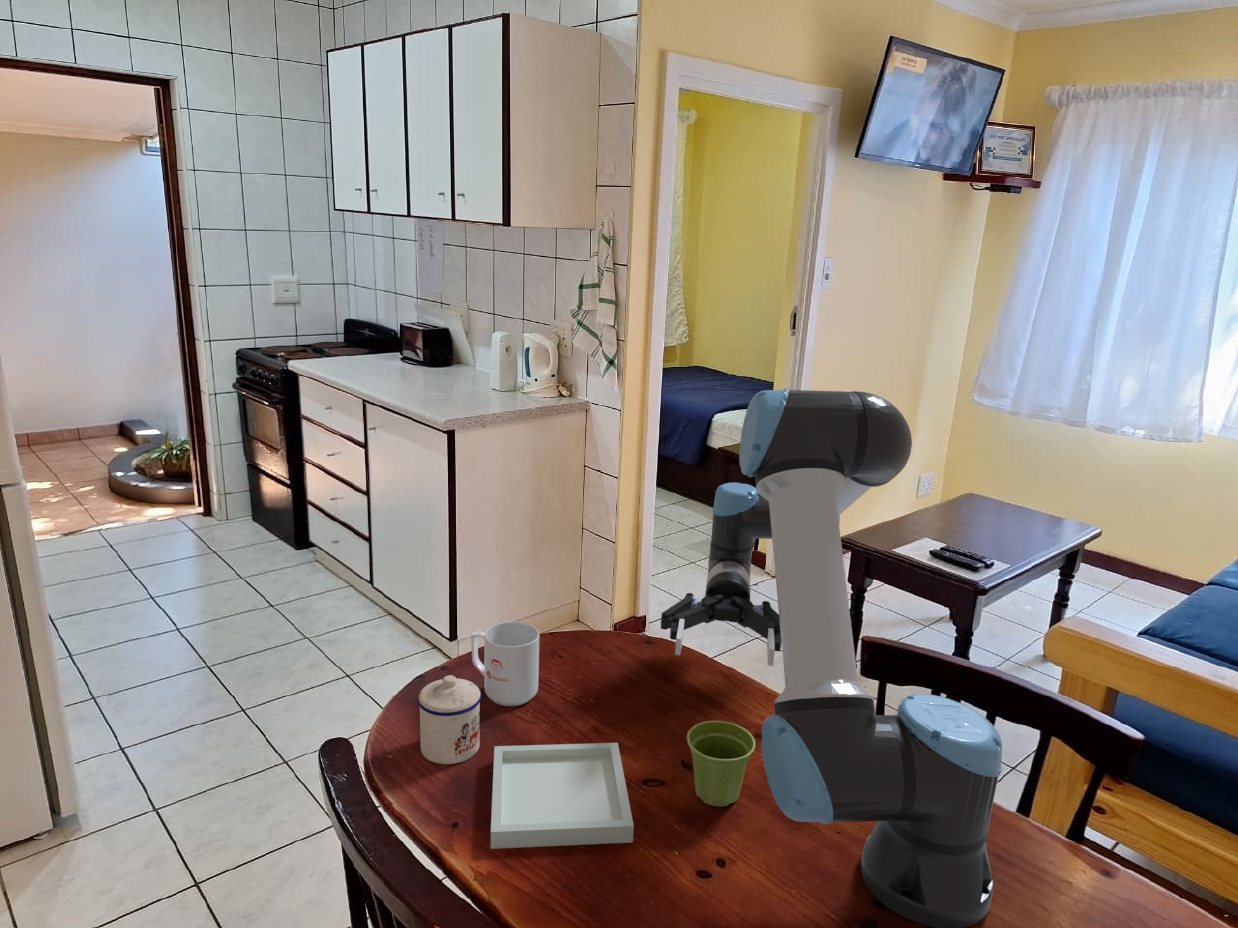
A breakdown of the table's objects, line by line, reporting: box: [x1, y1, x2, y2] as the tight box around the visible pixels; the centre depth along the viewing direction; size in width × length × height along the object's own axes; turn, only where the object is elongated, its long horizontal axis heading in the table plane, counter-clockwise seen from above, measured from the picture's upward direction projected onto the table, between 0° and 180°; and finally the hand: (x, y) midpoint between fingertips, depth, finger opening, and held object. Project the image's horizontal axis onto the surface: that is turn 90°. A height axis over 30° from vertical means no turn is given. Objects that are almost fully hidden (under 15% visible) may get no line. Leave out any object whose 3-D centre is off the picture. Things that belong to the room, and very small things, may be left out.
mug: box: [470, 621, 540, 707], centre depth 140 cm, size 12×9×11 cm
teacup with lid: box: [417, 674, 482, 765], centre depth 126 cm, size 12×9×12 cm
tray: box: [490, 742, 635, 850], centre depth 116 cm, size 18×18×2 cm
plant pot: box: [686, 720, 756, 808], centre depth 118 cm, size 9×9×9 cm
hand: (724, 652), depth 125 cm, fingers open, 13 cm apart
